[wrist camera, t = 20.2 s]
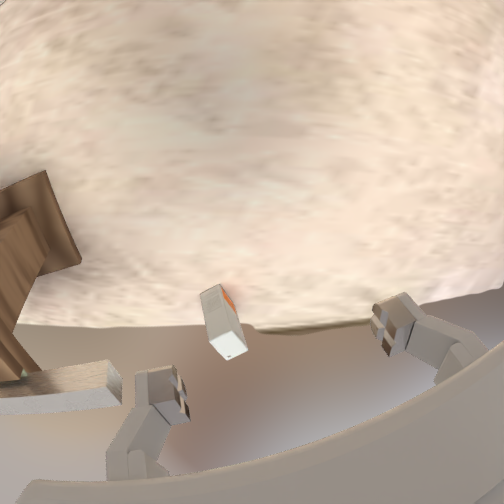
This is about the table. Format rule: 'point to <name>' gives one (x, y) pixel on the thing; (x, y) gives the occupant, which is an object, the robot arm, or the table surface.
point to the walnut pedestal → (27, 259)
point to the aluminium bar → (62, 390)
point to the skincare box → (222, 323)
